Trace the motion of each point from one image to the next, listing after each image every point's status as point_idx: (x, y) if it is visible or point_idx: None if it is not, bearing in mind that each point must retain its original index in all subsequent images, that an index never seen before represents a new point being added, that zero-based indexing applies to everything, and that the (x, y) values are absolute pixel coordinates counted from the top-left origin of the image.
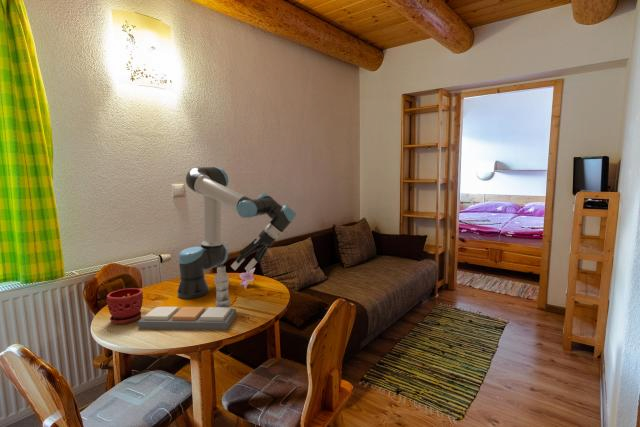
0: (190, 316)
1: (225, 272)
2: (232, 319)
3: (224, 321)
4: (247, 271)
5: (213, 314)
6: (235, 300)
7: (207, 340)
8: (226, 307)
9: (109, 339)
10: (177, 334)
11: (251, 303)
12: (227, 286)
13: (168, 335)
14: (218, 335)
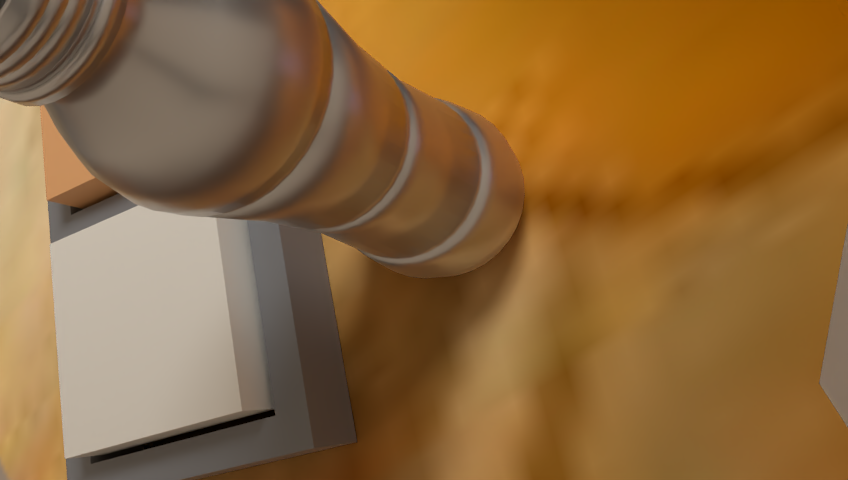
0: (46, 159)
1: (111, 105)
2: (240, 468)
3: (85, 474)
4: (826, 358)
5: (93, 331)
6: (755, 175)
7: (4, 433)
8: (235, 363)
9: None
10: (41, 173)
11: (730, 462)
12: (291, 220)
13: (28, 128)
14: (58, 474)
